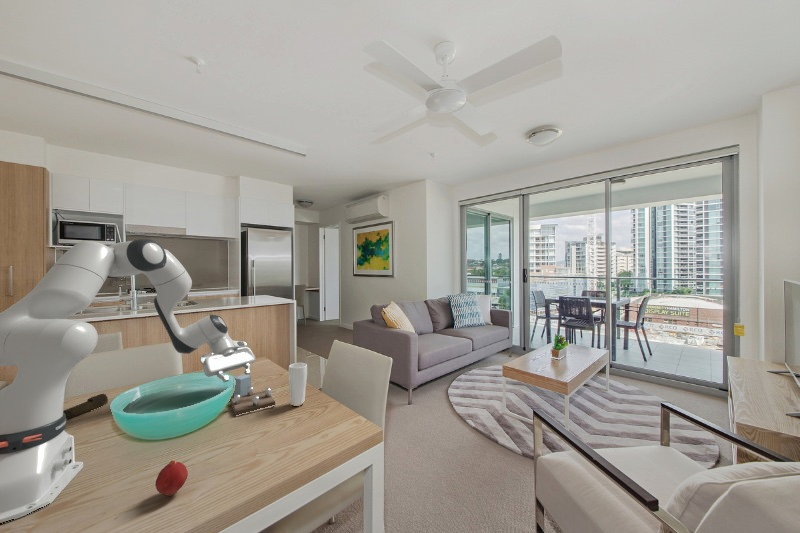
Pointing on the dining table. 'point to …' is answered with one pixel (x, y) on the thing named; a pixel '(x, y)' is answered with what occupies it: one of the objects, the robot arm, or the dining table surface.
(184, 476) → the onion
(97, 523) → the dining table surface
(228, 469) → the dining table surface
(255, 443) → the dining table surface
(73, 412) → the rusty brown artillery shell
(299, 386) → the drinking glass
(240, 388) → the block
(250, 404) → the peg board
